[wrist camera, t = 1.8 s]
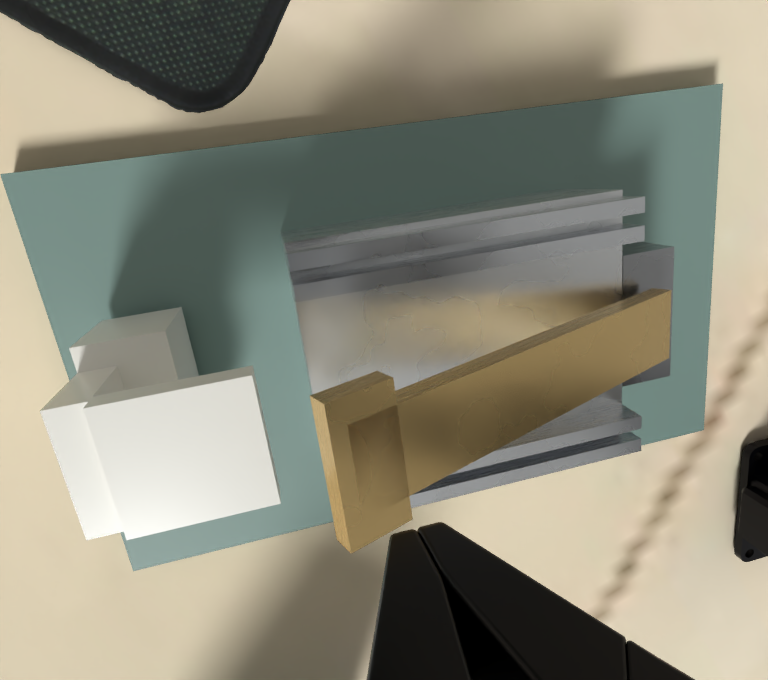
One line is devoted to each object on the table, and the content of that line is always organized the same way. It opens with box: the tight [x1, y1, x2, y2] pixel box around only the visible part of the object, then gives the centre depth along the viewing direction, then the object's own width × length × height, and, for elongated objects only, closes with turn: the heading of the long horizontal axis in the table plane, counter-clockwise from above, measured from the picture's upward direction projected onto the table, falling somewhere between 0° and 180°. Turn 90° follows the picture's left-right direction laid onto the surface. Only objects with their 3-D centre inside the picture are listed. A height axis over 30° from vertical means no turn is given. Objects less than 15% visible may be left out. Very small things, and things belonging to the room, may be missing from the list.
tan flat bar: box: [310, 288, 671, 554], centre depth 14 cm, size 12×3×1 cm, turn 97°
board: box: [0, 84, 723, 571], centre depth 20 cm, size 24×14×1 cm, turn 97°
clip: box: [40, 307, 281, 540], centre depth 15 cm, size 5×5×6 cm
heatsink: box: [280, 189, 674, 508], centre depth 18 cm, size 12×8×4 cm
